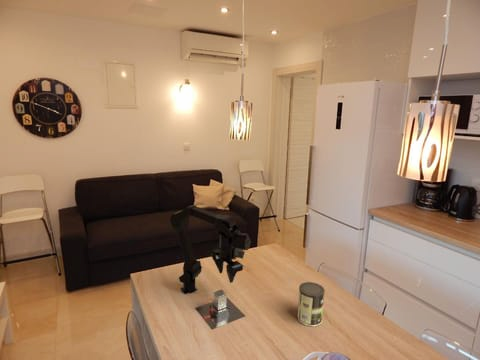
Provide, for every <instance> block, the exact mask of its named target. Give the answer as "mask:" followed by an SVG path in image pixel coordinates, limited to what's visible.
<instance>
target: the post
mask: <svg viewBox="0 0 480 360" xmlns="http://www.w3.org/2000/svg"><path fill="white" fill-rule="evenodd" d="M226 297H227V293H226V292H225V291H224V289H219V290H216V291H213V302H214V308H215V309H216V310H217V312H218V311H221V310H224V309H226Z"/></svg>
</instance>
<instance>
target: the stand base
mask: <svg viewBox="0 0 480 360" xmlns="http://www.w3.org/2000/svg"><path fill="white" fill-rule="evenodd" d="M194 309H195V310H196V312H197V313H198V314H199V315H200V317H201V318H202V319H203V321H204V322H205V323H206V324H207V326H208V327H209V328H210V329H211V330H215V329H218V328H220V327H223V326H225V325H227V324H230V323H233V322H235V321H237V320H240V319H243V318H245V317H246V315H245V314H244V313H243V312H242V311H241V309H239V307H237V305H235V304H234V303H233V301H231V299H229V297H227V296H226V309H224V310H221V311H218V312H217V310H216V309H215V308H214V301H211V302H208V303H206V304H203V305H199V306H196V307H194Z"/></svg>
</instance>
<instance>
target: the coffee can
mask: <svg viewBox="0 0 480 360" xmlns="http://www.w3.org/2000/svg"><path fill="white" fill-rule="evenodd" d="M298 290H299V291H298V305H297V319H298V321H299V323H301V324H302V325H304V326H307V327H313V328H314V327H319V326H320V325H321V324H322V322H323V309H324V298H325V292H326V291H325V288H324V286H322V285H321V284H320V283H316V282H313V281H312V282H311V281H306V282H303V283H301V284H300V285H299V287H298Z"/></svg>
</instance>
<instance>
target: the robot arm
mask: <svg viewBox="0 0 480 360" xmlns="http://www.w3.org/2000/svg"><path fill="white" fill-rule="evenodd" d="M190 217H194V218H195V219H198V220H200V221H203V222H206V223H208V224H210V225H212V226H213V227H214V228H215V229H217V231H216V232H215V235H218V236H219V246H217V248H216V249H212V250H211V252H210V257H211V258H212V260H213V262H214V263H215V264H214V265H215V266H216V268H217V270H218V272H219V274H223V271H224V263H226V265H225V267H226V270H225V271H226V274H227V275H226V276H227V278H228V281H229V283H230V284H232V283H233V282H234V280H235V277H236V274H237V273H238V272H241V271H243V270H244V265H243V264H242V263H241V262H239V260H236V259H237V258H238V259H241V260H242V259H244V256H245V253H246V252H245V251H248V250H249V249H250V247H251V242H252V241H251V238H250V236H249V234H248V233H243V232H241V229H240V227H239V226H238V224H237V223H236V219H235V218H234V217H233V216H232V215H228V214H217V213H214V212H212V211H209V210H206V209H204V208H202V207H198V206H197V205H195V204H192V205H189V206H187V207H186V208H184V209H183V210H179V211H176V212H174V213H173V214H171V215H170V217H169V221H170V224H171V226H172V228H173V229H174V231H176V233H177V237H178V242H179V245H180V248H181V249H180V250H181V252H182V256H183V260H184V261H183V267H182V269H183V270H182V271H183V274H182V275H180V276H178V280H179V282H180V283H183V286H182V287H181V288H180V290H181V292H182V293H183V294H184V295H187V294H192V293H196V291H198V289H197V287H196V278H197V277H199V275H201V273H202V271H203V267H202V263H201V260H200V259H199V260H197V258H196V257H195V253H194V250H193V246H192V243H191V242H192V241H191V237H190V233H189V230H188V229H189V224H190V219H189V218H190ZM233 260H234V261H233Z"/></svg>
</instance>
